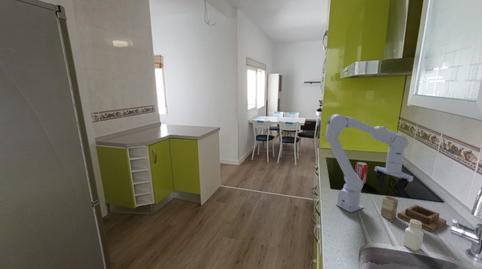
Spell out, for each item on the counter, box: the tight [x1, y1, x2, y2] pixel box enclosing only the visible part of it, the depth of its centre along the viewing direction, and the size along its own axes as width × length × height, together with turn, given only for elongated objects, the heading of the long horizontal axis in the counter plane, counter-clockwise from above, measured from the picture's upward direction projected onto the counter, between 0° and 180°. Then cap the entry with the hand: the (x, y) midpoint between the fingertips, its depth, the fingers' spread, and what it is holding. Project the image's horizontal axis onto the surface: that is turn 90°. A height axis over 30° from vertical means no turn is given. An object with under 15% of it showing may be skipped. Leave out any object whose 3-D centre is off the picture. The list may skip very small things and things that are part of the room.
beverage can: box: [354, 161, 369, 185], centre depth 128 cm, size 6×6×12 cm
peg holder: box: [396, 204, 448, 233], centre depth 90 cm, size 12×12×4 cm
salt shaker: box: [402, 219, 424, 252], centre depth 74 cm, size 4×4×10 cm
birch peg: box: [380, 195, 399, 221], centre depth 93 cm, size 4×4×8 cm
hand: (390, 191), depth 96 cm, fingers open, 7 cm apart
